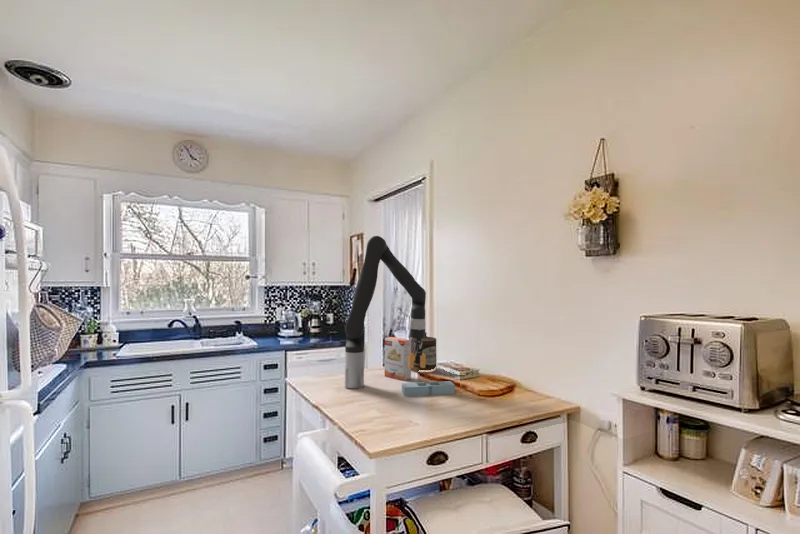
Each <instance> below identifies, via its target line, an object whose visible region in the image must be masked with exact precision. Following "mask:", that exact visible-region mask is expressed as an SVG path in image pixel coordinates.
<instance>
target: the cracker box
mask: <svg viewBox="0 0 800 534" xmlns="http://www.w3.org/2000/svg"><path fill="white" fill-rule="evenodd" d="M408 353H411V339H406V338H401V337H396V336H395V337H394V336H388V337H385V338H384V377H387V378H391V379H396V380H400V381H408V380H411V378H412V372H411V368H409V367H408Z"/></svg>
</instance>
